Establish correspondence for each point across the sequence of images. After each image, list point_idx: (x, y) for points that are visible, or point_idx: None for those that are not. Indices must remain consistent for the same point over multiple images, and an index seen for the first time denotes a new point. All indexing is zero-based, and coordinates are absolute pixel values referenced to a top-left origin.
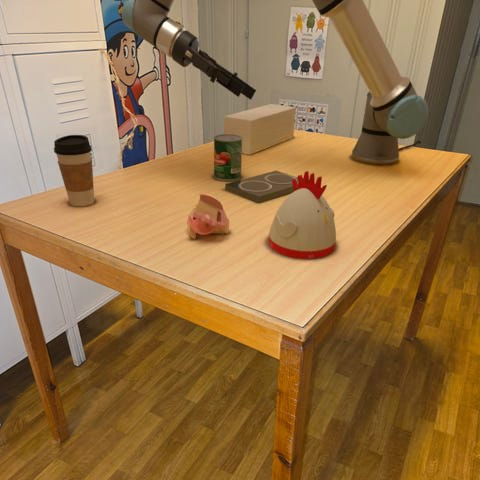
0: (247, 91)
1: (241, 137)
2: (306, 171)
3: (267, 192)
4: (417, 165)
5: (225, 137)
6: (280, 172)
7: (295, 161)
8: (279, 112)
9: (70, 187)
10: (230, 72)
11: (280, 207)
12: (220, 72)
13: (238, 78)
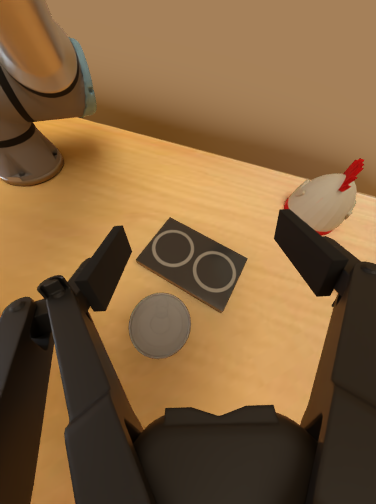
0: (121, 251)
1: (152, 295)
2: (361, 167)
3: (229, 252)
4: (57, 135)
5: (154, 331)
6: (144, 252)
7: (53, 249)
8: None
9: None
10: (25, 319)
11: (346, 209)
12: (343, 267)
13: (95, 270)
